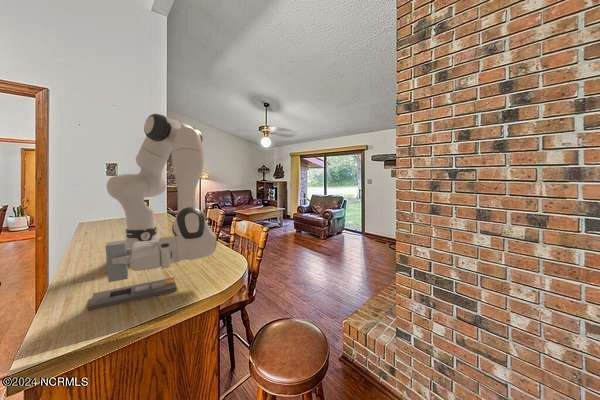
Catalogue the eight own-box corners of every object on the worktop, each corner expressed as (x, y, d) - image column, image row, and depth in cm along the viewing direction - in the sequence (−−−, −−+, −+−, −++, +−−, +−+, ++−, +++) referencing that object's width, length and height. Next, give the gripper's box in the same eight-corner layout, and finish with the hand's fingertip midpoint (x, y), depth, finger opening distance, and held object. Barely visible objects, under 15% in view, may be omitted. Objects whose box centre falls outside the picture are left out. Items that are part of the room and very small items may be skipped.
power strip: (94, 300, 75) (93, 291, 74) (174, 283, 86) (173, 275, 86) (88, 314, 67) (87, 304, 67) (177, 293, 79) (176, 285, 78)
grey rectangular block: (110, 276, 75) (107, 242, 73) (128, 273, 77) (125, 240, 76) (108, 282, 71) (105, 245, 70) (127, 279, 73) (124, 243, 72)
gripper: (163, 234, 88) (116, 239, 81) (167, 249, 71) (108, 257, 64) (164, 251, 89) (117, 257, 82) (168, 269, 72) (110, 280, 65)
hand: (113, 257), depth 73 cm, fingers closed on grey rectangular block, 4 cm apart
